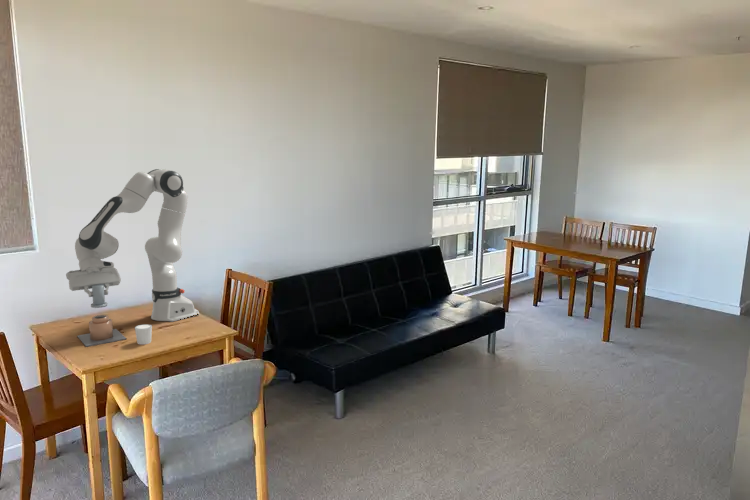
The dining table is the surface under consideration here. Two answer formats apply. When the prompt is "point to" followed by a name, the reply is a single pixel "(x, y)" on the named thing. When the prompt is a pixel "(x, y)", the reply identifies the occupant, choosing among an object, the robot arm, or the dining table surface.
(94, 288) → the stopper
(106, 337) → the jar
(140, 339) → the white cup
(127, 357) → the dining table surface
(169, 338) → the dining table surface
